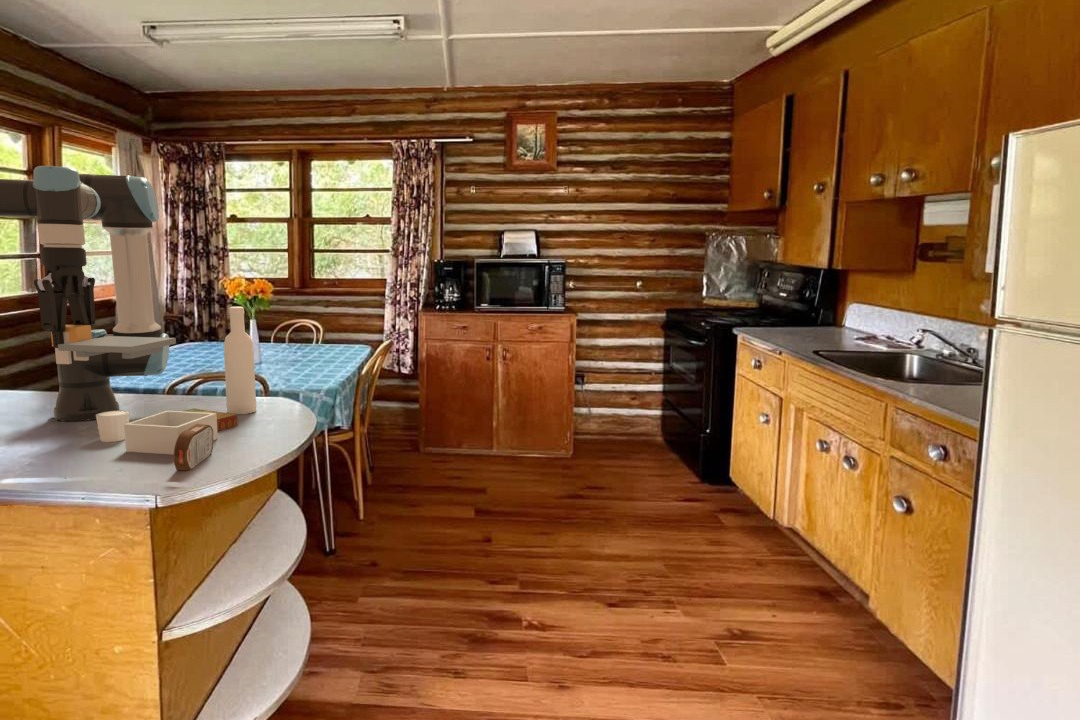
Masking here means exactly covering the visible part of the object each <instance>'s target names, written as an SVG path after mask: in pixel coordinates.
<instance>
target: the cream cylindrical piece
mask: <svg viewBox="0 0 1080 720" xmlns="http://www.w3.org/2000/svg"><path fill="white" fill-rule="evenodd" d="M95 420H96V423H97V429H98V435H99V440H100V442H105V443H108V442H109V443H112V442H119V441H125V430H124V424H127V423H130V412H129V411H128V410H120V411H107V412H102V413H98V414H96V419H95Z"/></svg>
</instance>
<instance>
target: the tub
mask: <svg viewBox="0 0 1080 720" xmlns="http://www.w3.org/2000/svg"><path fill="white" fill-rule="evenodd" d="M183 411H184V410H182V411H179V410H164V411H162V412H159V413H156V414H152V415H149V416H147V417H143V418H141V419H140V418H139V419H136V420H134V421H129V423H127V424H124V430H125V440H124V443H125V452H127V453H143V454H144V453H145V454H155V455H156V454H157V455H173V456H174V448H175V444H176V441H177V438H178V436H179V435H180V433H181V432H183V431H185V430H187V429H188V428H190V427H192V426H194V425H195V424H205V425H210V426H211V427H212V429H213V442H214V441H216V440H218V437H219V435H218V431H217V416H216V413H201V412H183Z"/></svg>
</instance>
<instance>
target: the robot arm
mask: <svg viewBox="0 0 1080 720" xmlns="http://www.w3.org/2000/svg"><path fill="white" fill-rule="evenodd" d="M158 205H159V204H158V199H157V197H156V193H155V190H154V187H153V185H152V184H151V183H150V181H149V180H148V179H147V178H145V177H143V176H142V177H141V176H133V175H114V174H90V173H87V174H86V173H79V171H78V170H77V169H75V168H72V167H67V166H56V165H38V166H36V167H34V168H33V178H32V179H15V178H14V179H12V178H11V179H10V178H9V179H8V178H6V179H5V178H0V217H10V218H11V217H13V218H15V217H16V218H17V217H20V218H21V217H22V218H37V219H36V220H37V224H38V227H37V228H38V237H39V243H40V244H41V245H43V247H40V249H39V251H40V252H39V253H40V263H41V265H42V266H43V267H45V269H46V270H45V273H44V277H43V278H41V279H34V280H33V285H34V286H35V290H36V292H37V297H38V299H37V301H38V305H39V306H38V307H39V315H40V322H41V329H42V330H45V331H46V332H50V333H51V332H52V338H53V346H52V347H53V348H54V351H55V352H54V353H55V354H54V355H55V363H56V365H57V376H58V385H59V391H58V394H57V398H56V403H55V407H54V408H53V419H54V420H57V421H64V422H81V421H92V420H93V421H94V420H97V419H96V414H98V413H102V412H107V411H121V410H120V404H119V402H118V401H117V399H116V396H115V394H114V391H113V388H112V387H111V381H110V380H111V377H112V378H113V377H114V378H115V377H140V376H141V377H142V376H143V377H147V376H157V375H161V374H163V373H164V372H165V370H166V368H167V365H168V361H169V355H170V345H167V346H163V347H162V352H159V353H155V354H150V355H145V356H141V357H136V358H132V359H126V358H122V353H117V352H109V353H104V354H99V355H94V356H88V357H76V351H59V350H58V344H64V343H70V338H69V332H64V331H65V327H66V325H67V324H66V323H67V313H68V311H67V309H68V306H69V310H70V313H71V314H70V315H71V319H72V321H73V325H91V334H92V339H94V338H101V337H107V336H122V337H156V338H170V337H169V334H167V333H165V332H162V326H161V325H160V324H159V323H157V322H156V320H155V313H154V301H153V289H152V280H151V279H152V277H151V266H150V256H149V255H150V254H149V253H150V252H149V242H148V234H149V233H150V231H152V229H153V228H154V226H153V223H155V222H158V221H159V218H160V217H159V216H160V214H159V206H158ZM84 220H91V221H101V226H102V228H103V230H105V231H106V232H107V233H108V234H109V238H110V239H109V240H110V248H111V249H110V250H111V260H112V269H113V270H112V271H113V278H114V279H113V280H114V289H115V299H116V310H117V318H118V319H117V320H118V322H117V324H116V325H115V326H114V327H113V328H112V334H108V332H107V331H106V329H103V328H102V329H101V328H100V329H99V328H98V329H93V326H94V325H95V324H96V312H95V311H96V310H95V309H96V308H95V290H94V288H95V284H96V278H95V277H88V276H86V275H85V272H84V270H83V267H85V266H87V252H86V251H87V250H86V249H85V248H84V247H83V246H84V245H86V239H85V238H86V237H85V236H86V235H85V227H84ZM52 338H51V339H52Z"/></svg>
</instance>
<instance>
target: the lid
mask: <svg viewBox="0 0 1080 720" xmlns="http://www.w3.org/2000/svg"><path fill="white" fill-rule="evenodd" d="M91 330H92V328H91V325H74V324H66V327H65V331H64V332H69V338H70V343H64V344H58V350H59V351H76V357H88V356H94V355H99V354H104V353H109V352H117V353H122V358H126V359H132V358H136V357H141V356H145V355H150V354H155V353H159V352H162V347H163V346H167V345H169V346H172V345H175V344H177V338H176V337H169V338H156V337H122V336H107V337H101V338H94V339H92V334H91ZM50 336H51V337H50V338H51V347H54V346H53V338H52V332H50Z"/></svg>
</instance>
